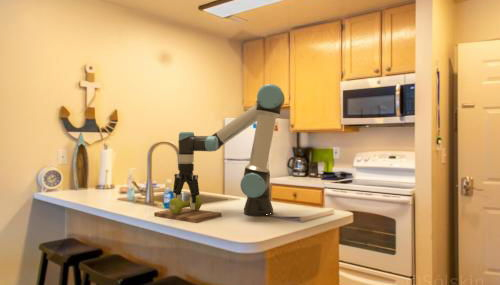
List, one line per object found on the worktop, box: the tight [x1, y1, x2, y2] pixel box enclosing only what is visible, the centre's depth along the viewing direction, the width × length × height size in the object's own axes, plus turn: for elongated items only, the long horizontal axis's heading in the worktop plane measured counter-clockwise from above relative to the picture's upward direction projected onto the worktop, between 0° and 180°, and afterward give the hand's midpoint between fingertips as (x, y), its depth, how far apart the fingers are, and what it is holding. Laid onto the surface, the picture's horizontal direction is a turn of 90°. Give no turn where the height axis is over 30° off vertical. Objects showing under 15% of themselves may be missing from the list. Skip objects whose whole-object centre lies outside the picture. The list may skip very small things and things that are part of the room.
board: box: [153, 207, 222, 224], centre depth 183 cm, size 28×18×2 cm, turn 56°
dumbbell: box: [168, 195, 203, 214], centre depth 183 cm, size 16×8×7 cm, turn 139°
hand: (185, 208), depth 183 cm, fingers closed on dumbbell, 8 cm apart
